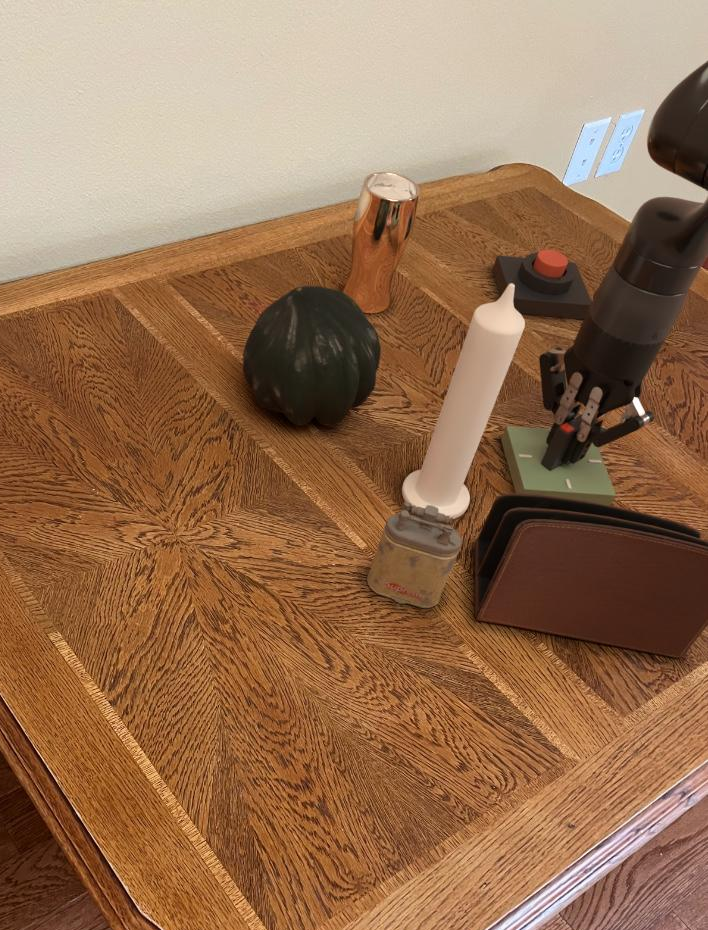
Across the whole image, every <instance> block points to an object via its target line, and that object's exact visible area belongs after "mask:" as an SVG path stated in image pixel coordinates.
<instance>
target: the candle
mask: <svg viewBox="0 0 708 930" xmlns="http://www.w3.org/2000/svg"><path fill="white" fill-rule="evenodd" d="M514 289H515V285H514V284H512V283H511V284H509V285H508V287H507V288H506V290H505V291H504V293H503V294H502V296H501V295H500V297H499V298H498V299H497V300H496V301H494V302H492V301H491V302H487V303H483V304H481V305H479V306H478V307H477V308H476V309H475V310H474V312H473V314H472V318H471V320H470V324H469V327H468V330H467V332H466V335H465V338H464V341H463V345H462V347H461V350H460V353H459V356H458V358H457V362H456V365H455V367H454V371H453V374H452V377H451V380H450V383H449V386H448V389H447V392H446V394H445V397H444V401H443V404H442V406H441V409H440V412H439V415H438V418H437V421H436V424H435V427H434V430H433V433H432V436H431V439H430V442H429V445H428V448H427V451H426V454H425V457H424V460H423V463H422V466H421V468H420V469H416V470H414V471H412V472H411V473H408V475H407V476H406V477H405V478H404V480H403V483H402V486H401V495H402V498H403V500H404V502H409V503H411V505H412V506H413V505H415V506H416V507H418V506H419V507H422V508H426V506H427V505H431V506H434V507H437V508H438V513H442V514H445V515H446V516H447V515H448V516H450V518H451V517H453V519H452V520H455V519H458V518H459V517H461V516H463V515H464V514H465V513H466V511H467V510H468V508H469V505H470V501H471V496H470V495H471V494H470V492H469V489H468V487H467V486H466V484H464V483H465V481H466V478H467V476H468V474H469V471H470V469H471V465H472V463H473V460H474V458H475V455H476V452H477V450H478V448H479V446H480V442H481V440H482V437H483V436H484V433H485V430H486V427H487V425H488V422H489V419H490V417H491V414H492V412H493V409H494V407H495V404H496V401H497V400H498V397H499V394H500V392H501V389H502V386H503V384H504V381H505V379H506V376H507V374H508V371H509V369H510V366H511V363H512V362H513V361H512V360H513V358H514V356H515V353H516V351H517V348H518V346H519V343H520V340H521V338H522V335H523V332H524V330H525V327H526V322H525V319H524V316H523V314H520V313H519V312H518V311H517V310H516V309H515V308H514V304H513V298H514Z"/></svg>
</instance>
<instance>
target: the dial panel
mask: <svg viewBox="0 0 708 930" xmlns="http://www.w3.org/2000/svg"><path fill="white" fill-rule="evenodd" d="M550 430H551V428H546V427H545V428H543V427H530V426H518V425H516V426H515V425H505V428H504V430H503V433H502V435H501V438H500V442H501V446H502V449H503V453H504V456H505V460H506V463H507V467H508V471H509V474H510V478H511V482H512V485H513V489H514V492H515V493H522V494H536V495H546V496H554V497H562V498H569V499H575V500H582V501H587V502H593V503H599V504H604V505H609V506H612V503H613V502H614V500H615V498H616V496H617V493H616V492H615V491H616V490H615V489H614V485H613V483H612V481H611V478H610V475H609V471H608V470H607V467H606V464H605V462H604V459H603V456H602V454H601V453H602V452H601V451H600V447H596V446H594V445H593V443H592V444H591V446H590V448H589V450H588V452H587V453H586V455H585V457H584V458H583V459H581V460H580V461H578V462H576V463H574V464H572V463H571V464H569V465H567V466H566V465H565V464H562V465H560V466H558V467H557V468H555V469H553V470H551V471H549V470H548V469H547V468H546V467H544V466H543V465H542V464H541V462H542V459H543V457H544V455H545V453H546V451H547V447H548V444H546V439H547V437H548V435H549V432H550Z"/></svg>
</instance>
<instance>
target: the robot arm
mask: <svg viewBox="0 0 708 930" xmlns="http://www.w3.org/2000/svg"><path fill="white" fill-rule="evenodd" d="M646 147H647V152H648V155H649V157H650V159H651V160H652V161H653V162H654V163H655V164H656V165H658V167H661V168H662V169H663V170H666V171H667V172H669V173H672V174H673V175H676V176H678V177H680V178H682V179H684V180H686V181H687V182H689V183H692V184H693V185H695V186H697V187H699V188H701V189H703V190H704V191H706V192H708V60H706V61H705V62H704V63H703V64H701V65H699V66H698V67H697V68H696V69H694V70H693V71H692V72H691V73H689V74H688V75H687V76H686V77H685V78H684V79H682V80H681V81H680V82H679V83H678V84H677V85H675V87H674V88H673V89H672V90H671V91H670V92H669V93H668V95H666V97H665V98H664V99H663V100H662V101H661V103H660V104H659V106H658V108H657V110H656V111H655V113H654V115H653V117H652V119H651V120H650V124H649V127H648V132H647V137H646ZM619 246H620V247H619V249H618V250H617V252H616V255H615V257H614V259H613V261H612V263H611V265H610V267H609V268H608V270H607V271H606V273H605V274H604V276H603V278H602V280H601V281H600V283H599V285H598V288H597V289H596V290H595V292H594V294H593V296H592V300H591V301H592V303H591V305H590V307H589V310H588V312H587V314H586V316H585V318H584V319H583V320H582V323H581V324H580V327H579V329H578V332H577V334H576V335H575V338H574V341H573V345H572V346H570V347H569V348H567V349H566V350H564V349H563V348H562V347H560V346H555V347H554V348H552V349H549V350H547V351H545V352H543V353H541V354H540V355H539V357H538V361H539V371H540V372H539V373H540V383H541V384H540V385H541V394H542V405H543V408H544V409H545V410H546V411H551V413H552V414H553V421H554V422H553V424H552V425H551V427H550V429H551V430H550V432H549V435H548V437H547V439H546V444H548V447H549V445H550V442H551V440H552V438H553V436H554V434H555V432H556V430H557V428H558V427H560V426H561V425H563V424H565V423H567V422H569V421H571V420H573V419H574V418H576V417H578V416H579V413H580V411H581V410H582V408H583V406H584V410H583V412H582V414H583V415H582V414H581V415H582V417H581V420H582V422H581V424H580V427H579V429H578V431H577V433H576V435H575V436H574V437H573V438H572V440H571V442H570V444H569V446H568V448H567V450H566V452H565V454H564V456H563V458H562V461H561V462H563V463H564V464H565V465H566V466H567V465H569V464H571V463H572V464H574V463H576V462H578V461H580V460H581V459H583V458H584V457H585V455H586V453H587V452H588V450H589V448H590V446H591V444H592V443H593V445H594V446H596V447H598V448H601V447H603V446H605V445H607V444H610V443H612V442H614V441H617V440H619V439H620V438H623V437H626V436H628V435H630V434H632V433H635V432H637V431H638V430H640V429H642V428H644V427H645V426H647V425H649V424H651V423H652V422H653V421H654V420H655V414H654V413H653V412H652V411H651V410H645V409H644V407H643V405H642V403H641V401H640V397H641V394H642V384H643V381H644V379H645V377H646V375H647V374H648V372H649V370H650V369H651V367H652V365H653V363H654V362H655V360H656V358H657V356H658V354H659V352H660V350H661V349H662V347H663V345H664V343H665V342H666V340H667V338H668V335H670V332H671V330H672V328H673V326H674V325H675V323H676V321H677V319H678V317H679V315H680V313H681V311H682V310H683V306H684V305H685V301H686V298H687V296H688V293H689V291H690V289H691V287H692V286H693V283H694V282H695V279H696V278H697V276H698V274H699V272H700V270H701V268H702V267H703V266H704V263H705V261H706V260H707V258H708V196H707V197H706V199H705V200H704V201H703V202H701V201H700V202H699V201H693V200H688V199H684V198H680V197H673V196H656V197H653V198H650V199H647V200H646V201H645V202H643V204H642V205H641V206H640V207H639V208H638V209H637V211H636V213H635V214H634V217H633V218H632V220H631V222H630V225H629V226H628V229H627V231H626V233H625V235H624V238H623V240H622V242H621V244H620V245H619ZM622 407H625V412H623V413H622V414H621V418H620V421H619V423H617V424H615V425H613V426H611V427H608V428H605V427H603V426H604V424H605V422H606V420H607V418H608V417H610V415H611V414H612V412H613V411H615V410H618V409H620V408H622ZM548 447H547V449H548Z"/></svg>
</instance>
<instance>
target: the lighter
mask: <svg viewBox="0 0 708 930" xmlns="http://www.w3.org/2000/svg"><path fill="white" fill-rule="evenodd" d="M453 520H454V519H453V517H451V518H450V516H448V515H447V516H446V515H445V514H442V513H438V508H437V507H434V506H431V505H427V506H426V508H422V507H419V506H418V507H416V506H415V505H413V506H412V505H411V503H409V502H405V501H403V502H402V504H401V507H400V512H399V513H395V514H392V515H390V516H389V517H388V518H387V520H386V523H385V525H384V527H383V530H382V533H381V536H380V540H379V543H378V545H377V548H376V552H375V555H374V558H373V561H372V564H371V566H370V567H371V568H370V570H369V572H368V574H367V578H366V582H367V585H368V587H369V588H370V590H372V591H373V593H375V594H377V595H379V596H383V597H386V598H389V599H392V600H393V601H394V602H395V603H396V604H399V605H406V604H408V605H411V606H415V607H418V608H421V609H429V608H433V607H435V606H436V605H438V604H439V603H440V600H441V597H442V593H443V591H444V589H445V587H446V584H447V581H448V579H449V577H450V574H451V573H452V569H453V568H454V565H455V562H456V560H457V559H458V556H459V554H460V548H461V546H462V544H463V543H462V542H463V540H462V537H461V535H460V534H459V532H458V531H457V530H456V529H454V528H453V526H451V525H452V522H453Z"/></svg>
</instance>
